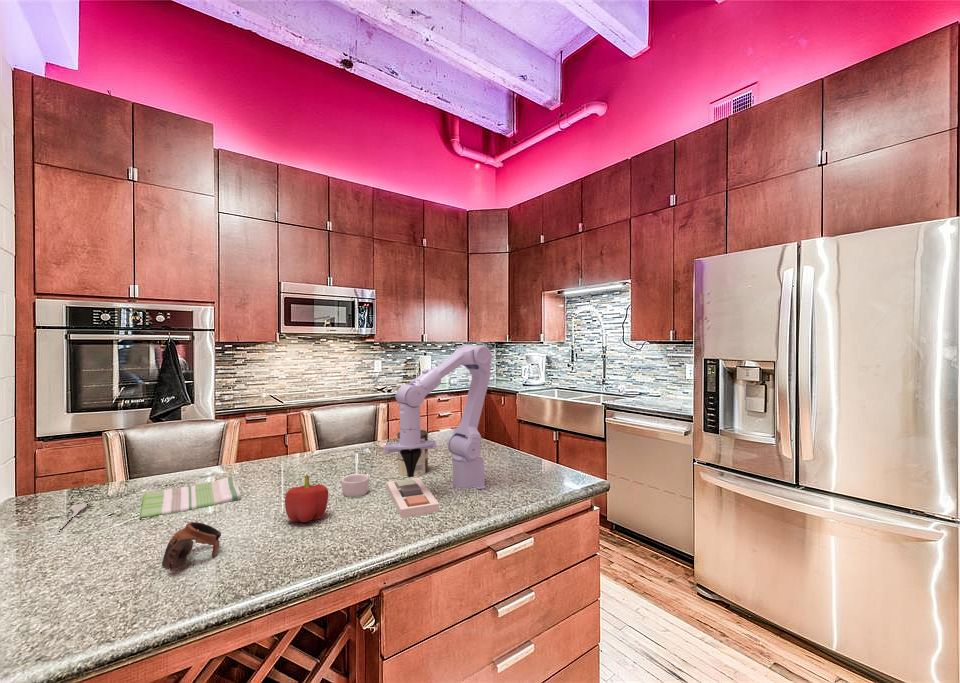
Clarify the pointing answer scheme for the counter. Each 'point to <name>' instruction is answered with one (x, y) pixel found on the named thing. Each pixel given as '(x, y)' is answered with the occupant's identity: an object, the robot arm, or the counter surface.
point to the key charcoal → (410, 490)
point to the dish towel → (189, 497)
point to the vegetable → (306, 502)
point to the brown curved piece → (189, 543)
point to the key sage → (404, 483)
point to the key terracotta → (416, 500)
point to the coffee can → (422, 462)
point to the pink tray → (401, 501)
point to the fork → (78, 508)
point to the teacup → (355, 485)
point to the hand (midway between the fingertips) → (410, 476)
